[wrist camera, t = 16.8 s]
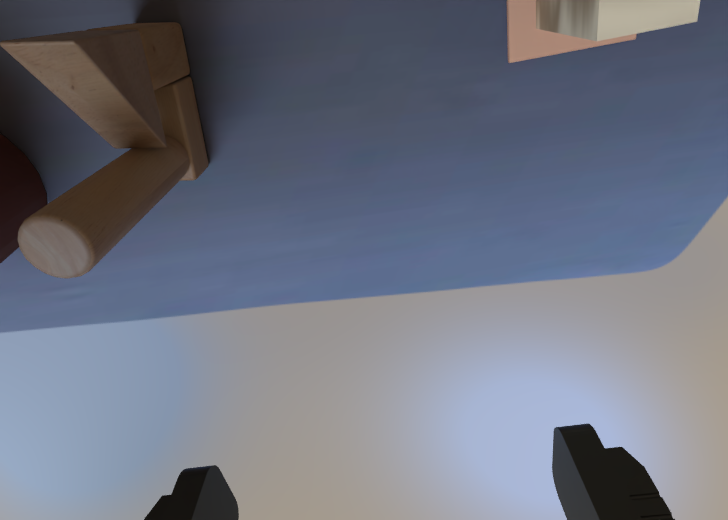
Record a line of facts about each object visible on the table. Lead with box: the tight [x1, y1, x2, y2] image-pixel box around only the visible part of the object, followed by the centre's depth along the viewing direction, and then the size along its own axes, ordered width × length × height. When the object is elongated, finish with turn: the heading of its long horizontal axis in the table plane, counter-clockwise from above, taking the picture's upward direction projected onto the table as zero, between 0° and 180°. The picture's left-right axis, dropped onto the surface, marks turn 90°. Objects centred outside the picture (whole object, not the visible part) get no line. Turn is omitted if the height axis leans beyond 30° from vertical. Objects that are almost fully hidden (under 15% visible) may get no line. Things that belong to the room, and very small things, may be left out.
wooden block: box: [0, 22, 208, 278], centre depth 28 cm, size 4×11×18 cm, turn 1°
